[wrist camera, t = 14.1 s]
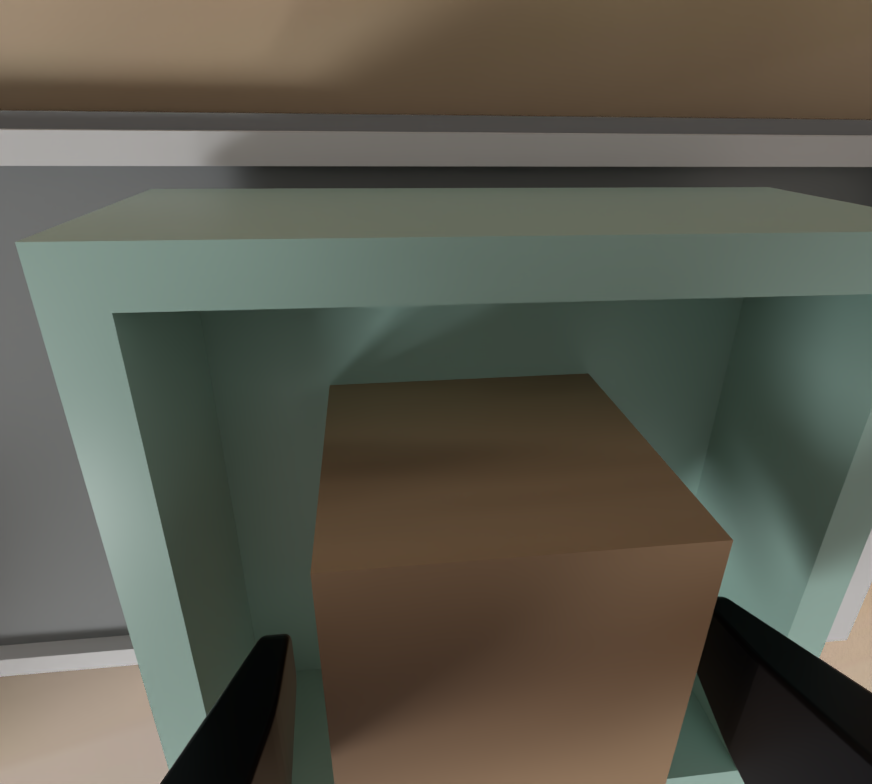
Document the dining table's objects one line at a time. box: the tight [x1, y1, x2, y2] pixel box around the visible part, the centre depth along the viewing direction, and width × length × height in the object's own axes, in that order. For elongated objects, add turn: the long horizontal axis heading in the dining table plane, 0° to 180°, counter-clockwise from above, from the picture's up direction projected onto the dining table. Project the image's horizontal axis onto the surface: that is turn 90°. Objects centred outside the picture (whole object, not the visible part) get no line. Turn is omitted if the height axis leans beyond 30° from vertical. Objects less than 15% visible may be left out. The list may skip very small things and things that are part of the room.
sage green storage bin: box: [15, 187, 872, 784], centre depth 12 cm, size 12×12×6 cm
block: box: [310, 373, 733, 784], centre depth 10 cm, size 5×5×5 cm
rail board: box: [0, 110, 872, 677], centre depth 14 cm, size 14×30×3 cm, turn 90°
